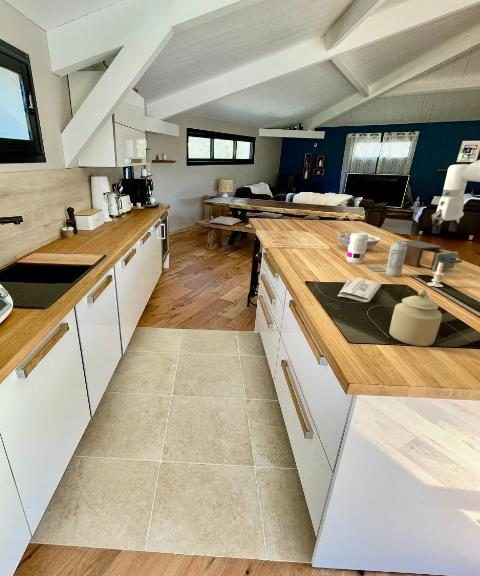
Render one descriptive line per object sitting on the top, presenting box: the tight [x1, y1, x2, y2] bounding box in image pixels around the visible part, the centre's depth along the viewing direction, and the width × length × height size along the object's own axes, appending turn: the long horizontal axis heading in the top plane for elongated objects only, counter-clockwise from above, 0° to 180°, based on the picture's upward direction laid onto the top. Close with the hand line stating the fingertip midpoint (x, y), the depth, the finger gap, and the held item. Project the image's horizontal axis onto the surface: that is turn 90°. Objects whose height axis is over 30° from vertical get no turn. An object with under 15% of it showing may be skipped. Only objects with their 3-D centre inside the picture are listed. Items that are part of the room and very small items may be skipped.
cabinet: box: [399, 239, 442, 268], centre depth 160 cm, size 15×13×10 cm
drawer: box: [418, 248, 463, 271], centre depth 149 cm, size 18×11×8 cm, turn 14°
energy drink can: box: [385, 241, 407, 278], centre depth 140 cm, size 6×6×15 cm
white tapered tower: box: [427, 262, 445, 288], centre depth 127 cm, size 5×5×10 cm
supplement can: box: [345, 231, 369, 265], centre depth 160 cm, size 8×8×15 cm
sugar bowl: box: [388, 288, 443, 347], centre depth 90 cm, size 15×11×15 cm
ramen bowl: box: [337, 230, 381, 250], centre depth 187 cm, size 25×23×8 cm
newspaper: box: [337, 277, 382, 303], centre depth 125 cm, size 23×12×2 cm, turn 141°
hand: (443, 232), depth 145 cm, fingers open, 9 cm apart
